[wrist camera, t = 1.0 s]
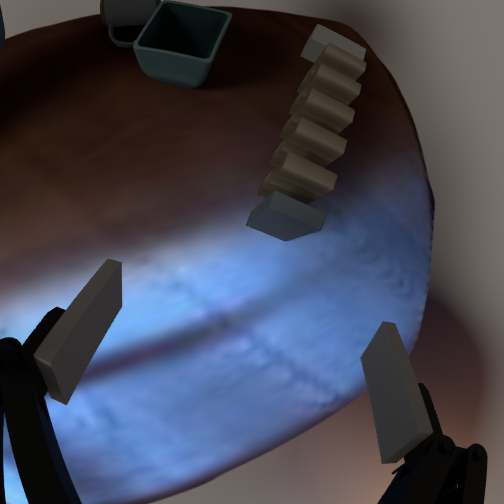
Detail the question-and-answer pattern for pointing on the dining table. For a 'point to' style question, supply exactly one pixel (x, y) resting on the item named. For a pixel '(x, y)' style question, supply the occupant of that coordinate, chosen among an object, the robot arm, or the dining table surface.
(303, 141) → the domino
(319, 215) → the domino
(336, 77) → the domino
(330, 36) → the end block
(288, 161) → the domino
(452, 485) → the robot arm
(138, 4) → the ceramic mug
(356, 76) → the domino
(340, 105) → the domino
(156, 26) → the flower pot
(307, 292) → the dining table surface
